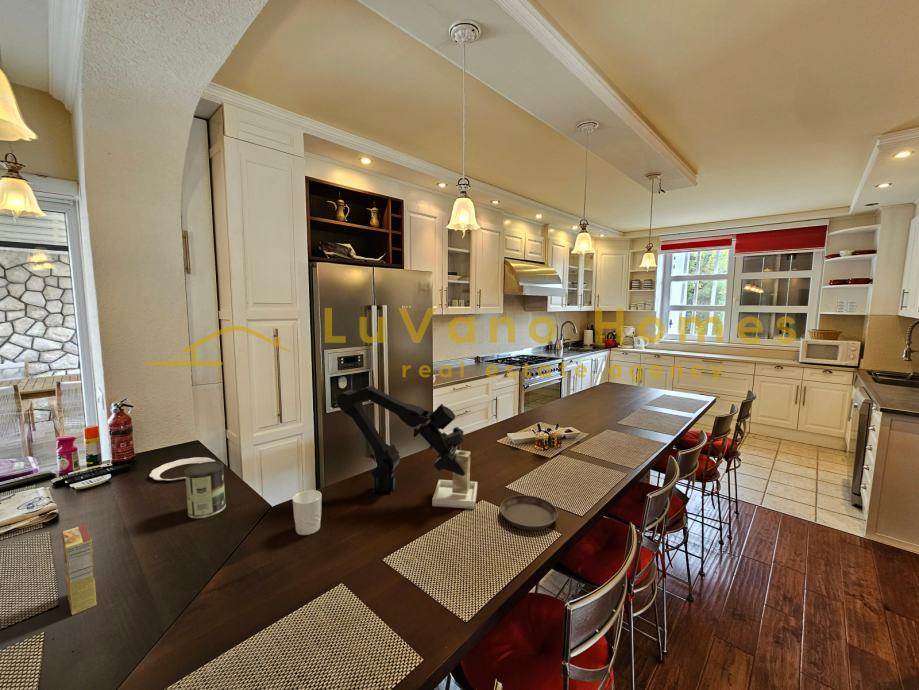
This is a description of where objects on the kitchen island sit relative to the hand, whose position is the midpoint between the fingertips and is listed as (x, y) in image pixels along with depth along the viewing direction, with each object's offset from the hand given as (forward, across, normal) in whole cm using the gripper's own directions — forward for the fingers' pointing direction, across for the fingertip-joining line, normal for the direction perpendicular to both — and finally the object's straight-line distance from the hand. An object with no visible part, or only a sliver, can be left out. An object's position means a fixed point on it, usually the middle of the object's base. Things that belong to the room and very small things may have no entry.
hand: (465, 471), depth 131 cm
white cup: (-23, -27, +37) cm, 51 cm away
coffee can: (-49, -24, +63) cm, 84 cm away
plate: (-71, -2, +87) cm, 112 cm away
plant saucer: (+22, -8, -8) cm, 25 cm away
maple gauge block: (+4, 0, +6) cm, 7 cm away
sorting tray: (+4, 0, +9) cm, 10 cm away
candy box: (-46, -62, +60) cm, 98 cm away
